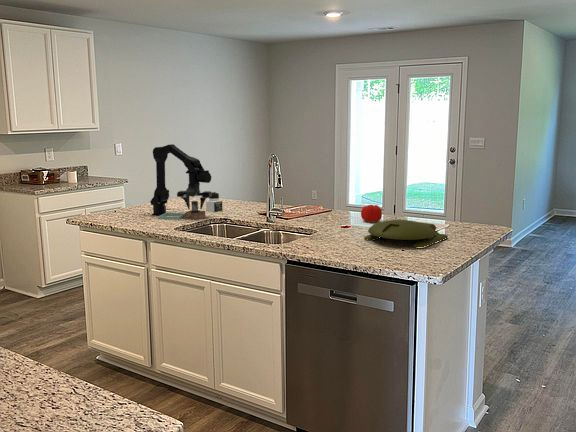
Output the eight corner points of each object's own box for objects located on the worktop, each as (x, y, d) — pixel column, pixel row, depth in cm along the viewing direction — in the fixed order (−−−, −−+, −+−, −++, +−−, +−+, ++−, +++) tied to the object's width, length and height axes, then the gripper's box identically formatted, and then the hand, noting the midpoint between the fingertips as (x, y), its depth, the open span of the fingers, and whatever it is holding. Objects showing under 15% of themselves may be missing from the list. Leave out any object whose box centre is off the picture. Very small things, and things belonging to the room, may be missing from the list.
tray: (158, 220, 317) (157, 216, 316) (166, 216, 328) (166, 212, 328) (178, 221, 315) (178, 217, 314) (186, 217, 326) (186, 213, 326)
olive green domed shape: (392, 230, 292) (393, 212, 290) (449, 239, 272) (450, 219, 270) (355, 243, 265) (355, 222, 263) (415, 253, 246) (416, 231, 244)
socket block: (185, 220, 319) (184, 213, 318) (190, 217, 328) (190, 210, 327) (200, 220, 317) (200, 213, 317) (205, 217, 326) (205, 210, 325)
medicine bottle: (214, 213, 338) (213, 193, 336) (205, 212, 342) (205, 192, 340) (222, 212, 344) (222, 192, 341) (214, 210, 348) (213, 191, 346)
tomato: (365, 219, 320) (365, 203, 319) (385, 221, 314) (385, 205, 313) (357, 222, 311) (357, 206, 310) (377, 224, 305) (378, 207, 304)
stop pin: (191, 217, 321) (190, 201, 319) (193, 216, 324) (192, 200, 323) (197, 217, 320) (196, 201, 319) (199, 216, 324) (198, 200, 322)
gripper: (172, 183, 312) (174, 211, 315) (205, 183, 309) (206, 212, 312) (180, 180, 323) (181, 207, 326) (211, 181, 320) (212, 208, 323)
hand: (195, 209), depth 321 cm, fingers open, 7 cm apart
